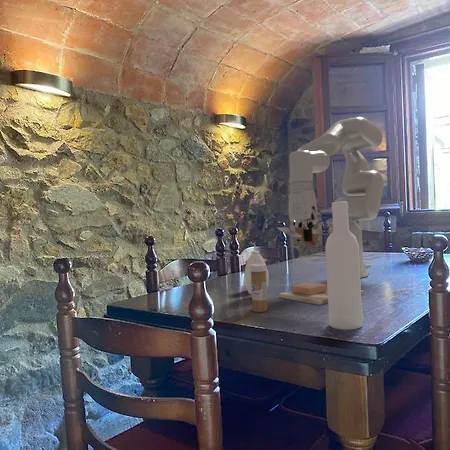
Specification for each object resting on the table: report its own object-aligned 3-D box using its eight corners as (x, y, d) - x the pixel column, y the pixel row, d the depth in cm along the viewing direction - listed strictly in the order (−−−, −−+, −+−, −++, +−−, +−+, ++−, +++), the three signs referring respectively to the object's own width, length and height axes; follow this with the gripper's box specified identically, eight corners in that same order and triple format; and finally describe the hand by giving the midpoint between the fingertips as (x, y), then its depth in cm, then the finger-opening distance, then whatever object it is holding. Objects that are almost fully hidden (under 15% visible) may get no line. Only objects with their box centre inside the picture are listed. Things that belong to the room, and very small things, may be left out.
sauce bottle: (253, 301, 143) (250, 244, 143) (241, 297, 150) (238, 243, 150) (274, 297, 147) (271, 242, 146) (261, 294, 154) (258, 241, 153)
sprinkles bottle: (249, 311, 130) (246, 265, 129) (258, 308, 133) (255, 262, 133) (262, 313, 127) (259, 265, 126) (271, 309, 130) (268, 263, 130)
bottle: (353, 331, 104) (347, 201, 102) (323, 327, 109) (316, 203, 108) (368, 323, 110) (362, 200, 108) (338, 319, 115) (332, 202, 114)
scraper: (307, 245, 159) (310, 236, 160) (317, 246, 155) (320, 236, 156) (276, 228, 152) (280, 218, 152) (286, 228, 147) (289, 218, 148)
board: (322, 287, 159) (322, 284, 159) (364, 294, 144) (363, 290, 144) (279, 297, 147) (279, 293, 147) (319, 305, 133) (319, 301, 133)
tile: (309, 282, 152) (291, 285, 148) (327, 284, 146) (309, 288, 141) (309, 288, 152) (292, 292, 148) (327, 291, 146) (309, 295, 141)
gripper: (278, 189, 159) (281, 241, 160) (310, 185, 145) (313, 242, 146) (294, 188, 163) (297, 239, 164) (327, 185, 149) (330, 240, 150)
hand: (304, 240), depth 155 cm, fingers closed on scraper, 3 cm apart
